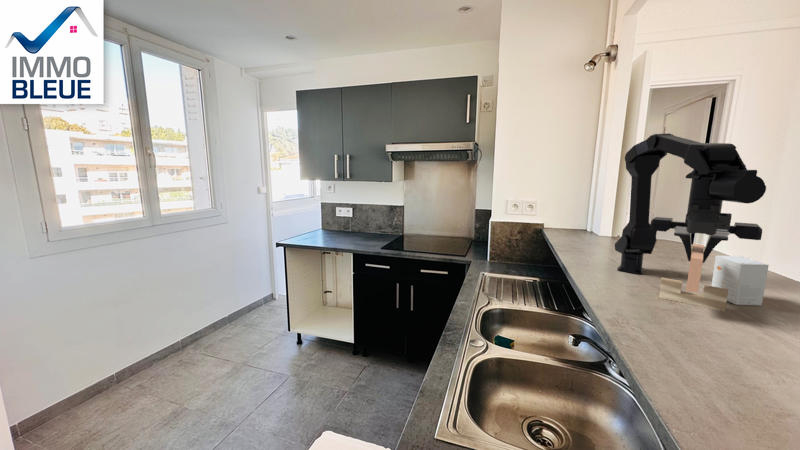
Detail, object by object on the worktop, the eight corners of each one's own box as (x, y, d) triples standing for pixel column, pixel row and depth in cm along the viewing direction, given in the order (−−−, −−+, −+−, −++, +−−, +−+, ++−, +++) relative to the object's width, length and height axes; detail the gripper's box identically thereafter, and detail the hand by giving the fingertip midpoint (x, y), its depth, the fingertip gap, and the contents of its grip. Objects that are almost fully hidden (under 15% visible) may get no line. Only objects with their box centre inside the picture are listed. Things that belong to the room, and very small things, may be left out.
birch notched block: (659, 295, 82) (662, 277, 81) (724, 308, 74) (727, 288, 73) (658, 297, 81) (661, 279, 80) (724, 311, 72) (728, 291, 71)
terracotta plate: (688, 272, 82) (693, 243, 81) (699, 274, 81) (703, 245, 80) (685, 290, 71) (690, 257, 70) (697, 293, 70) (703, 259, 68)
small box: (762, 306, 74) (770, 264, 72) (734, 305, 75) (741, 264, 73) (734, 293, 82) (740, 255, 80) (709, 292, 83) (715, 254, 81)
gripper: (650, 199, 73) (643, 262, 76) (771, 204, 60) (757, 279, 63) (656, 195, 81) (649, 252, 84) (764, 199, 68) (751, 266, 71)
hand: (696, 261), depth 75 cm, fingers closed on terracotta plate, 2 cm apart
